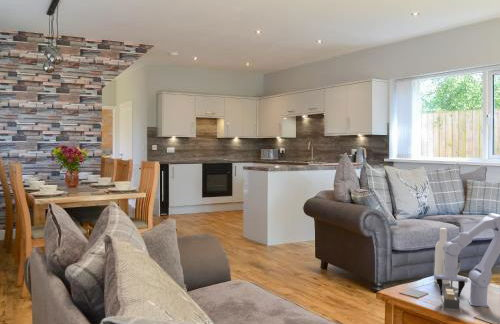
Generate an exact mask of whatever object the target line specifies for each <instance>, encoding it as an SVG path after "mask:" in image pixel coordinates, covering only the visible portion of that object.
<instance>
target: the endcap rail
mask: <svg viewBox="0 0 500 324" xmlns="http://www.w3.org/2000/svg"><path fill="white" fill-rule="evenodd" d="M441 302H442V306H443V310H447V311H455V312H456V311H457V312H460V297H456V296H455V300H452V299H446V297H445V296H444V295H441Z"/></svg>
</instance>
